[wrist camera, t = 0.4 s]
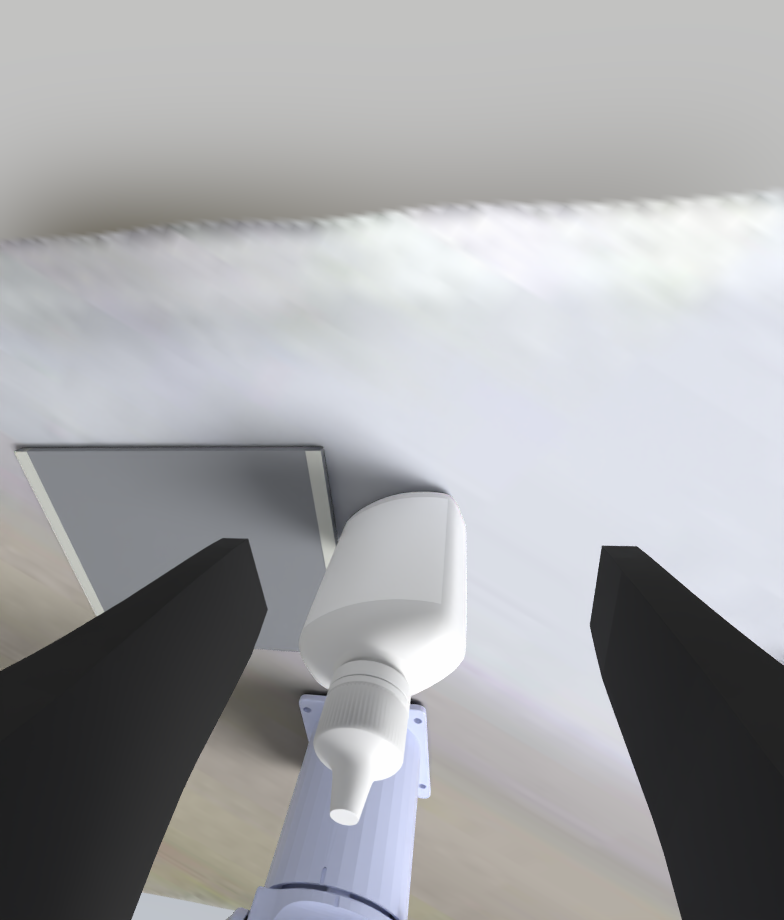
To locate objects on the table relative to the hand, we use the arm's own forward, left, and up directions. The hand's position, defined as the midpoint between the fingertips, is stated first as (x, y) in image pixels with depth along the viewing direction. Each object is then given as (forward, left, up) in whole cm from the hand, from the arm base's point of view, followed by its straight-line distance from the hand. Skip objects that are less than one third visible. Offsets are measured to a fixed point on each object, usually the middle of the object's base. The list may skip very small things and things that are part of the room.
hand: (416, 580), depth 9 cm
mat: (-8, +13, -10) cm, 19 cm away
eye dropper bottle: (-6, +2, -10) cm, 12 cm away
